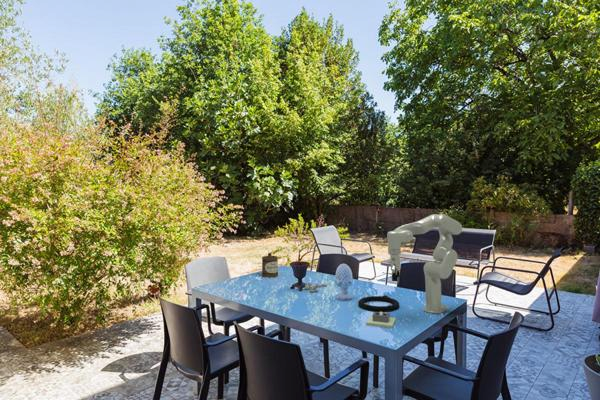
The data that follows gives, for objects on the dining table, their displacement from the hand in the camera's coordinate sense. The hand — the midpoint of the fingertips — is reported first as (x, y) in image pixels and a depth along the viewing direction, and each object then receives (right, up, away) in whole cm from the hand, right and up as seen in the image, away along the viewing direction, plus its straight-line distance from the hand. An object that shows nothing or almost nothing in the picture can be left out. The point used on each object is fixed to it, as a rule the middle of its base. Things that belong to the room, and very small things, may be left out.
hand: (395, 279), depth 230 cm
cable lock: (-5, -24, +25) cm, 35 cm away
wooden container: (-87, -23, +123) cm, 152 cm away
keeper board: (-11, -24, -9) cm, 28 cm away
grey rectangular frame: (-11, -22, -9) cm, 26 cm away
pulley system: (-48, -24, +74) cm, 91 cm away
